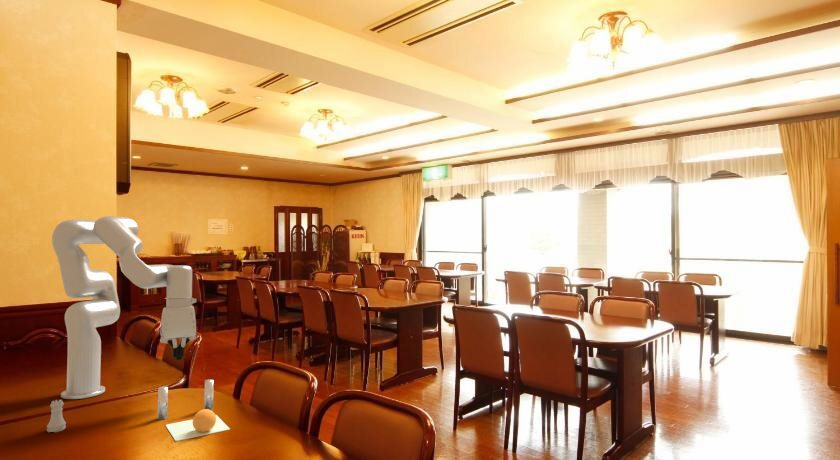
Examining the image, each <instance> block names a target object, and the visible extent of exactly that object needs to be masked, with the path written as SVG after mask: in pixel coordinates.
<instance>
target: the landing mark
mask: <svg viewBox="0 0 840 460" xmlns="http://www.w3.org/2000/svg"><path fill="white" fill-rule="evenodd" d="M215 416H216V423H215V425H214V426H213V428H212V429H210V430H209V431H207V432H199V431H197V430H196V429H195V428H194V426H193V418H192V419H189V420H182V421H177V422H172V423H169V424H165V425H164V426H165V428H166V429H167V430H168V432H169V434H170V435H171V437H172V438H173V440H174V442H180V441H185V440H188V439H193V438H199V437H204V436H208V435H211V434H212V435H213V434H217V433H221V432H225V431H230V430H231V428H230V427H229V426H228V425H227V424H226V423H225V422H224V421H223V420H222V419H221V418H220V417H219V415H217V414H215Z"/></svg>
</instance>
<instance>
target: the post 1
mask: <svg viewBox="0 0 840 460" xmlns="http://www.w3.org/2000/svg"><path fill="white" fill-rule="evenodd" d="M168 396H169V386H160V387H158V388H157V420H167V418H168V410H169V409H168V403H169V397H168Z"/></svg>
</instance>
